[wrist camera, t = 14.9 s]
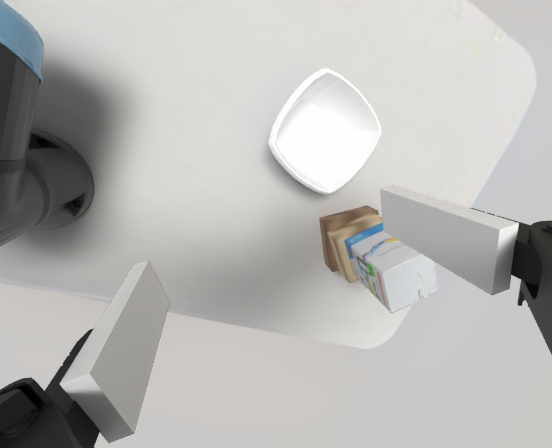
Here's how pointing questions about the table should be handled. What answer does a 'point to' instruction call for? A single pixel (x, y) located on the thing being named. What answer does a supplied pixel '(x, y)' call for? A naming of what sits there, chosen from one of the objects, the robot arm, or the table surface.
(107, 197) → the table surface
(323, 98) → the bowl
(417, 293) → the ink box
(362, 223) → the tower top
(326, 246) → the tower base
